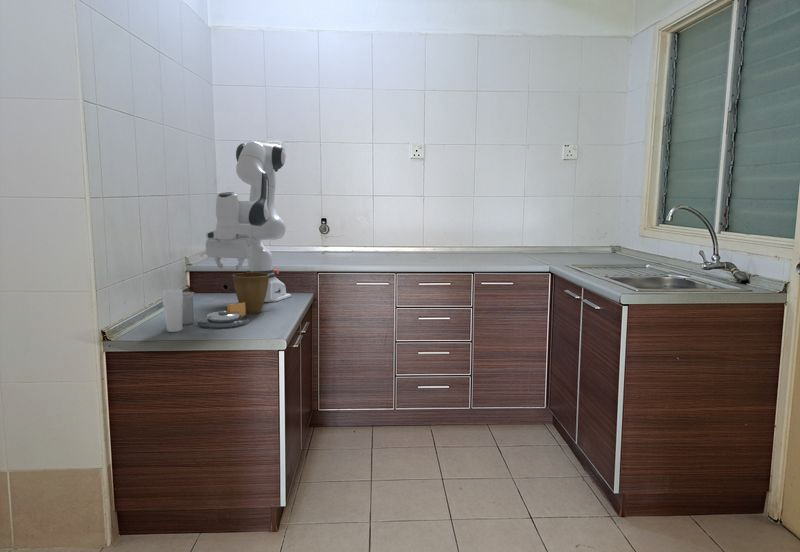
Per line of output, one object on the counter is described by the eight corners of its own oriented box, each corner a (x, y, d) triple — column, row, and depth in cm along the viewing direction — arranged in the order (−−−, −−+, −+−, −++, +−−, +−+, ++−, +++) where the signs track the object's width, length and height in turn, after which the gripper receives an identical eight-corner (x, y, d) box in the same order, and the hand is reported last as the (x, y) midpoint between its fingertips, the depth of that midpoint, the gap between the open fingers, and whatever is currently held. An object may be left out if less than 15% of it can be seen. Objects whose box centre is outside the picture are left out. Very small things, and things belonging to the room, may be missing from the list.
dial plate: (224, 315, 237) (224, 312, 237) (259, 320, 228) (259, 317, 228) (186, 325, 221) (186, 321, 221) (223, 330, 212) (223, 326, 212)
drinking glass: (173, 333, 207) (171, 292, 205) (160, 331, 211) (158, 290, 208) (188, 330, 213) (186, 289, 211) (175, 327, 216) (173, 288, 214)
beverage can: (196, 321, 227) (195, 291, 225) (190, 325, 220) (188, 294, 218) (180, 321, 227) (178, 291, 225) (173, 325, 220) (171, 294, 219)
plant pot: (251, 317, 235) (250, 278, 233) (226, 313, 243) (224, 275, 241) (277, 310, 247) (276, 273, 245) (253, 307, 255) (251, 271, 253)
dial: (219, 324, 216) (218, 310, 215) (200, 319, 224) (200, 306, 223) (253, 317, 228) (253, 303, 227) (235, 313, 235) (234, 300, 235)
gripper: (255, 234, 227) (256, 269, 229) (213, 232, 235) (214, 267, 237) (244, 235, 221) (245, 271, 223) (202, 233, 229) (203, 268, 231)
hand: (229, 269), depth 230 cm, fingers open, 8 cm apart
